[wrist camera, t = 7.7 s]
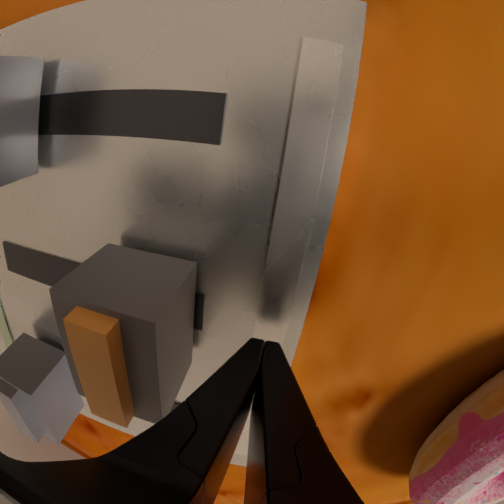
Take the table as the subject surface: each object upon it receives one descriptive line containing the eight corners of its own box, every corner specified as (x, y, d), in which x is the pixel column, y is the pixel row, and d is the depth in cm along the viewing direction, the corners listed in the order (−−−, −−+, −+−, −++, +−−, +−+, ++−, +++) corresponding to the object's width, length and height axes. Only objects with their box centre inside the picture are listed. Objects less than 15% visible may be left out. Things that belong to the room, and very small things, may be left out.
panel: (358, 18, 7) (367, 1, 6) (259, 447, 15) (255, 470, 14) (-26, 52, 9) (-47, 52, 7) (12, 357, 17) (0, 370, 16)
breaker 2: (66, 352, 12) (23, 405, 9) (84, 405, 14) (53, 453, 10) (23, 332, 12) (-20, 375, 9) (43, 385, 14) (11, 426, 11)
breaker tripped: (197, 262, 9) (143, 340, 6) (192, 361, 11) (156, 441, 7) (108, 243, 9) (34, 301, 6) (117, 340, 11) (69, 406, 8)
